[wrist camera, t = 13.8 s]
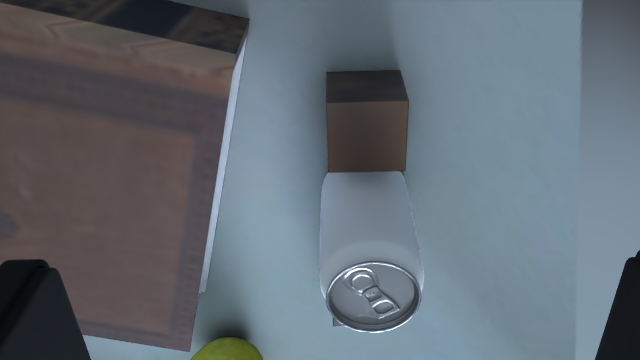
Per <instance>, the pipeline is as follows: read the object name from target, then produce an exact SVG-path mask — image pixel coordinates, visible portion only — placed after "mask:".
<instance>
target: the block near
mask: <svg viewBox="0 0 640 360" xmlns="http://www.w3.org/2000/svg"><path fill="white" fill-rule="evenodd" d="M408 110H409V99H408V96H407V92H406V89H405V85H404V82H403V78H402V75H401V71H400V70H395V71H358V72H327V79H326V112H327V144H328V172H329V173H343V172H389V171H405V169H406V149H407V129H408Z"/></svg>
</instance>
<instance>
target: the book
mask: <svg viewBox="0 0 640 360" xmlns="http://www.w3.org/2000/svg"><path fill="white" fill-rule="evenodd" d="M249 20H250V19H247V18H242V17H238V16H233V15H229V14H225V13H220V12H216V11H211V10H207V9H202V8H198V7H194V6H189V5H185V4H180V3H176V2H171V1H167V0H0V265H1V264H2V263H3V262H4V261H7V260H20V259H42V260H45V261H46V262H47V263H48V264H49V266H50V268H56V269H57V270H58V271H59V273H60V276H61V278H62V281H63V284H64V287H65V289H66V292H67V295H68V298H69V300H70V303H71V306H72V309H73V311H74V314H75V317H76V320H77V322H78V325H79V328H80V331H81V333H82V335H88V336H94V337H101V338H107V339H113V340H119V341H125V342H131V343H137V344H144V345H150V346H156V347H162V348H168V349H174V350H181V351H187V352H190V348H191V341H192V335H193V328H194V322H195V315H196V309H197V303H198V299H199V296H200V292H203V293H205V291H206V285H207V279H208V273H209V267H210V261H211V254H212V248H213V242H214V236H215V230H216V224H217V217H218V211H219V205H220V199H221V193H222V187H223V180H224V174H225V168H226V162H227V156H228V150H229V143H230V137H231V131H232V125H233V119H234V113H235V106H236V100H237V94H238V88H239V82H240V76H241V69H242V63H243V57H244V51H245V45H246V39H247V32H248V26H249Z"/></svg>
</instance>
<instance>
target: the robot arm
mask: <svg viewBox="0 0 640 360" xmlns="http://www.w3.org/2000/svg"><path fill="white" fill-rule="evenodd" d="M0 360H91V358H90V356H89V353H88V350H87V347H86V344H85V342H84V339H83V336H82V333H81V331H80V328H79V325H78V322H77V320H76V317H75V314H74V311H73V309H72V306H71V303H70V300H69V298H68V295H67V292H66V289H65V287H64V284H63V281H62V278H61V276H60V273H59V271H58V270H57V269H56V268H50V266H49V264H48V263H47V262H46V261H45V260H42V259H20V260H7V261H4V262H3V263H2V264H1V265H0ZM595 360H640V250H639V251H638V252H637V255H636V257H631V258H629V259H628V260H627V261H626V263H625V266H624V270H623V272H622V276H621V279H620V282H619V285H618V288H617V291H616V295H615V298H614V301H613V304H612V308H611V310H610V314H609V317H608V320H607V323H606V326H605V330H604V333H603V336H602V339H601V342H600V346H599V348H598V352H597V355H596V358H595Z"/></svg>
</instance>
